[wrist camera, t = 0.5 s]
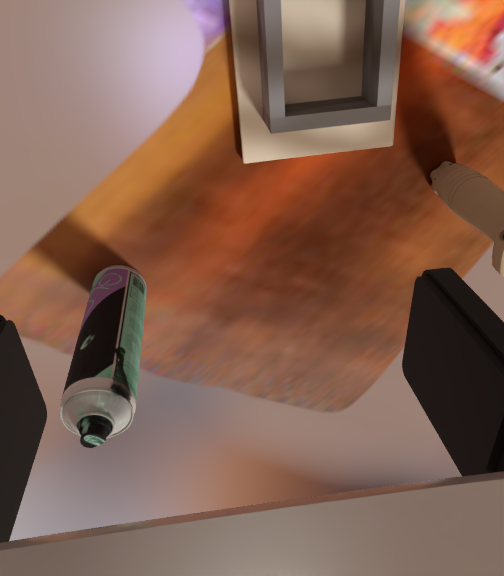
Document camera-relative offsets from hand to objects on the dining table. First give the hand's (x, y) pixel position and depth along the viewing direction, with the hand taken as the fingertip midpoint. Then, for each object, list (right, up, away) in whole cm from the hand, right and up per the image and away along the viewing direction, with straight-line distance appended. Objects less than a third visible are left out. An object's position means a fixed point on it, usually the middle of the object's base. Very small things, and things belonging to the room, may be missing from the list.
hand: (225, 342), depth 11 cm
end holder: (+6, +22, +29) cm, 36 cm away
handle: (+20, +13, +37) cm, 44 cm away
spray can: (-13, +1, +39) cm, 41 cm away
